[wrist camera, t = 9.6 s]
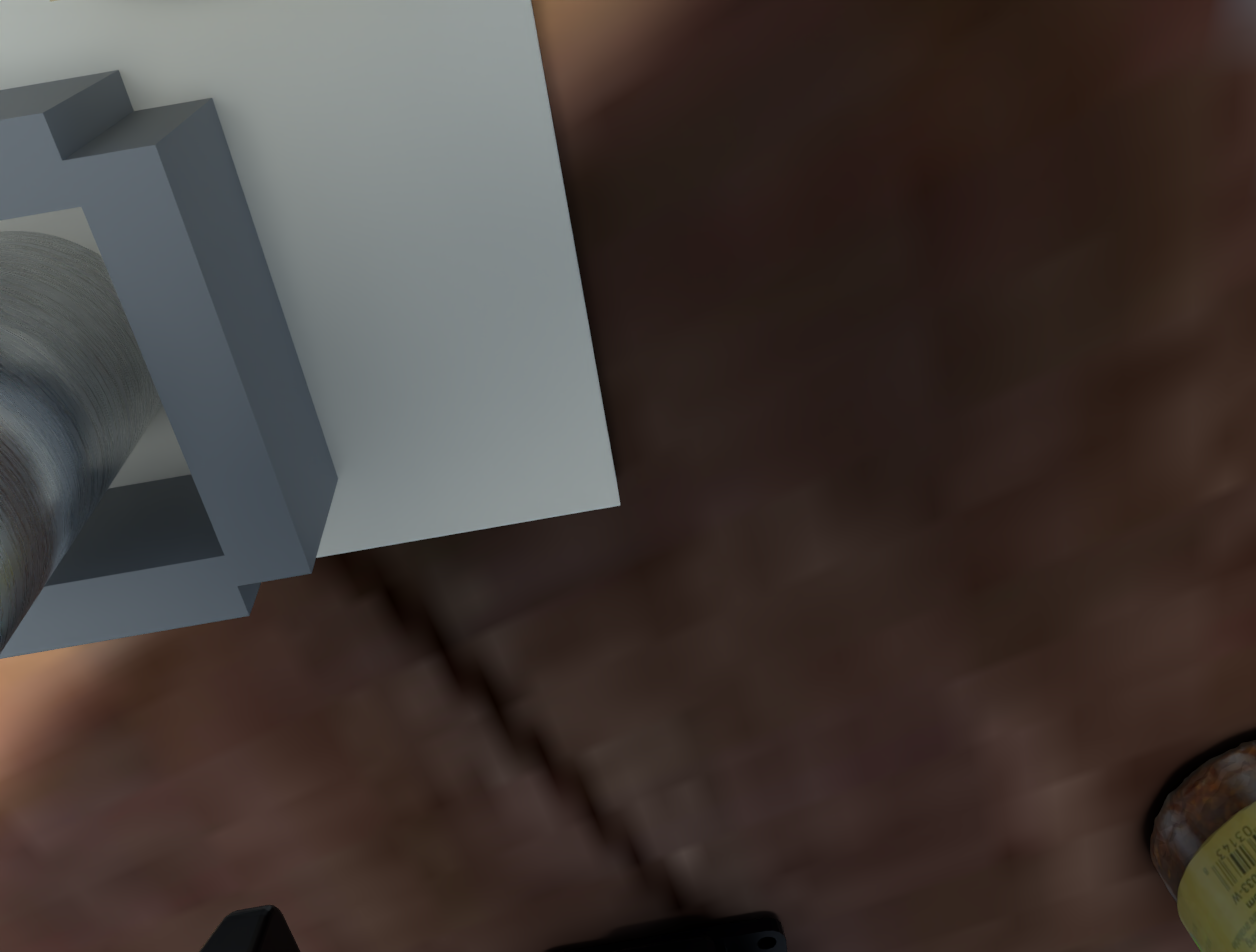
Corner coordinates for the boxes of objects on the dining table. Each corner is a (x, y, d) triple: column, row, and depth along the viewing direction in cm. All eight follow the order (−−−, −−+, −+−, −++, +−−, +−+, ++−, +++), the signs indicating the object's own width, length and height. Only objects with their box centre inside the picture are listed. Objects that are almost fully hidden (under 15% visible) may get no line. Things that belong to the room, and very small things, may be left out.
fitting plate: (616, 479, 22) (635, 599, 18) (-80, 599, 22) (-193, 742, 18) (421, -617, 13) (388, -777, 10) (-697, -428, 13) (-1115, -521, 10)
